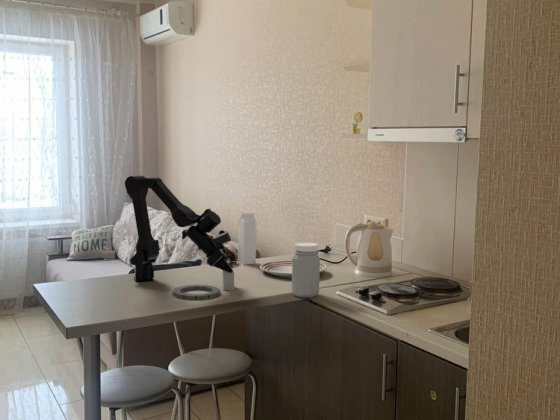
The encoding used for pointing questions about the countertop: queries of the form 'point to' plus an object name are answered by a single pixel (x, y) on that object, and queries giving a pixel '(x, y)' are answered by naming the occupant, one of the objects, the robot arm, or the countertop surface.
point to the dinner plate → (283, 268)
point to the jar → (305, 270)
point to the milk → (247, 239)
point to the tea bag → (228, 279)
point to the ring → (178, 293)
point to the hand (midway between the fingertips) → (232, 270)
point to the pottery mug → (230, 254)
